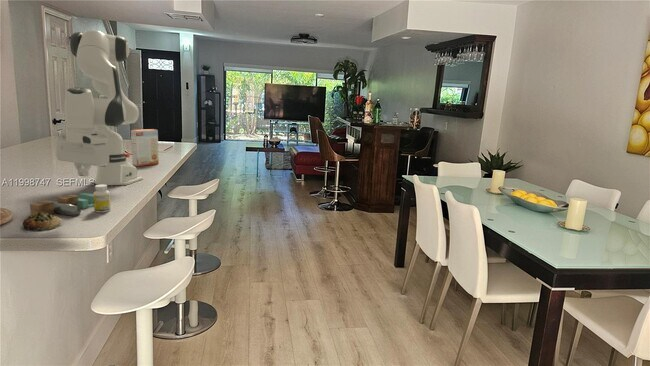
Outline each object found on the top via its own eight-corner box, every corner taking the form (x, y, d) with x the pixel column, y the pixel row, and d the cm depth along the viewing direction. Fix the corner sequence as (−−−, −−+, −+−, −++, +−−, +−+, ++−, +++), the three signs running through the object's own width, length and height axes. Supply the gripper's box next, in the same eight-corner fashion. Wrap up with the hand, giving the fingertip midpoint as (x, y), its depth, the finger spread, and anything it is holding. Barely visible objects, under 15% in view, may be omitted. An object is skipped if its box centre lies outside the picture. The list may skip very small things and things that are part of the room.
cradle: (84, 199, 171) (83, 192, 171) (103, 203, 168) (103, 196, 168) (63, 205, 162) (62, 197, 162) (83, 208, 159) (82, 201, 159)
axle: (56, 209, 157) (55, 200, 156) (81, 214, 153) (80, 204, 152) (47, 212, 153) (45, 202, 152) (72, 217, 149) (71, 207, 149)
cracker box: (153, 162, 259) (152, 128, 255) (159, 164, 256) (158, 129, 251) (131, 165, 248) (130, 129, 243) (137, 166, 244) (136, 130, 240)
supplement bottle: (98, 208, 161) (96, 183, 159) (112, 209, 162) (111, 184, 160) (91, 212, 156) (90, 186, 154) (106, 213, 156) (105, 187, 154)
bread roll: (13, 226, 136) (15, 211, 135) (47, 222, 146) (48, 208, 146) (37, 234, 132) (39, 219, 132) (70, 229, 143) (71, 215, 142)
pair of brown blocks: (70, 205, 162) (70, 194, 161) (78, 207, 161) (78, 195, 160) (30, 216, 147) (29, 203, 146) (39, 217, 146) (38, 205, 145)
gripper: (49, 134, 144) (52, 173, 147) (96, 140, 138) (98, 181, 141) (66, 132, 150) (68, 170, 153) (111, 138, 144) (113, 178, 147)
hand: (83, 175), depth 147 cm, fingers closed
